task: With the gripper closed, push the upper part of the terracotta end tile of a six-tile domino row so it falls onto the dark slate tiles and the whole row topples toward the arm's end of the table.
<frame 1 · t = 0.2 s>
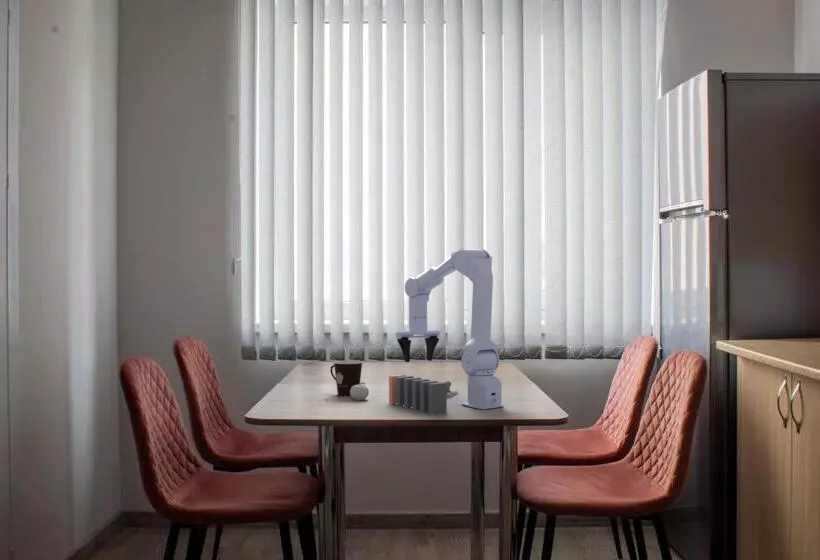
hand: (418, 361, 227), 10 cm above the table, tool pointing down, fingers open, 7 cm apart
domino 2: (405, 405, 207), on the table
domino 1: (397, 403, 210), on the table
domino 5: (429, 411, 198), on the table
packaged product: (426, 396, 227), on the table
domino 4: (420, 409, 201), on the table
domino 6: (437, 413, 195), on the table
garlic: (359, 400, 217), on the table
coffee mug: (346, 394, 227), on the table
domino 3: (412, 407, 204), on the table
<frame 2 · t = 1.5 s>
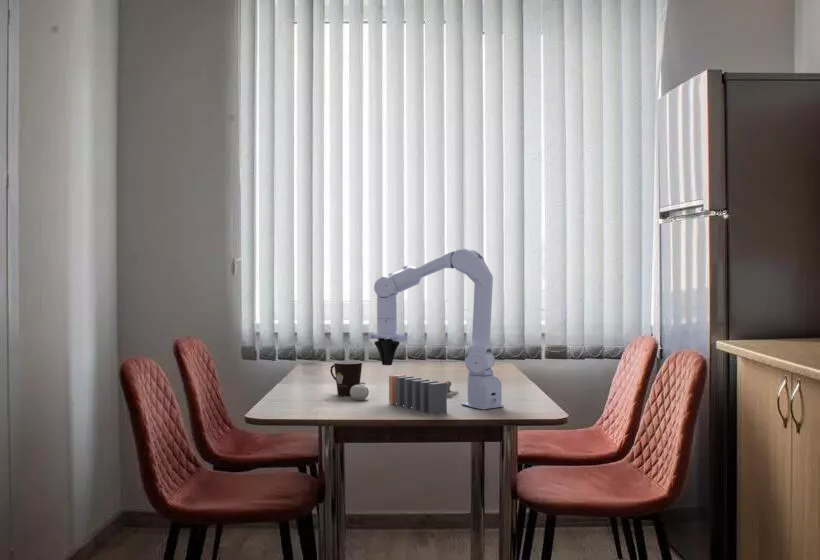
hand: (387, 365, 215), 10 cm above the table, tool pointing down, fingers closed
nothing on the table moved.
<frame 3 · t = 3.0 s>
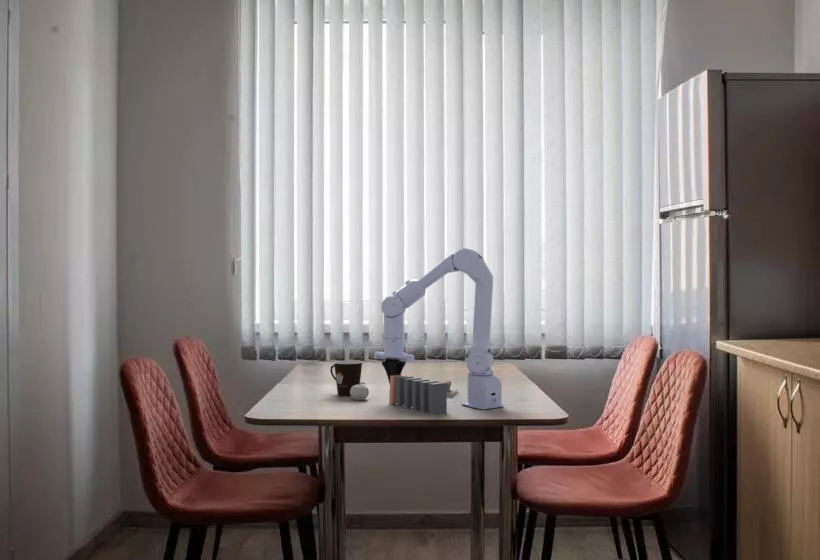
hand: (393, 385, 212), 5 cm above the table, tool pointing down, fingers closed
domino 1: (397, 403, 210), on the table, tilted 5°
everything else where it was.
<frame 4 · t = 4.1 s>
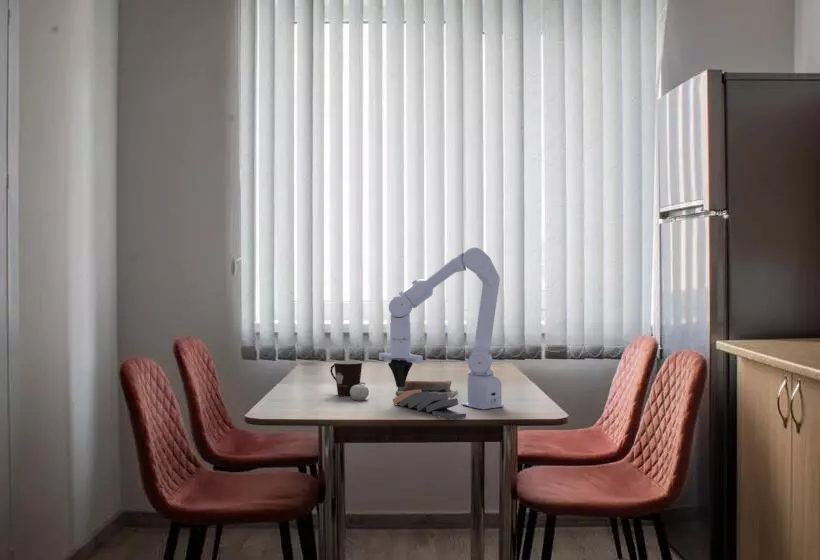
hand: (400, 386, 209), 5 cm above the table, tool pointing down, fingers closed
domino 2: (407, 403, 206), point 1 cm above the table, tilted 65°, touching domino 1
domino 1: (400, 401, 209), point 1 cm above the table, tilted 65°, touching domino 2
domino 5: (433, 408, 196), point 1 cm above the table, tilted 70°, touching domino 6
domino 4: (424, 407, 199), point 1 cm above the table, tilted 61°, touching domino 3
domino 6: (439, 412, 194), on the table, tilted 90°, touching domino 5
domino 3: (415, 405, 203), point 1 cm above the table, tilted 65°, touching domino 4
everything else where it was.
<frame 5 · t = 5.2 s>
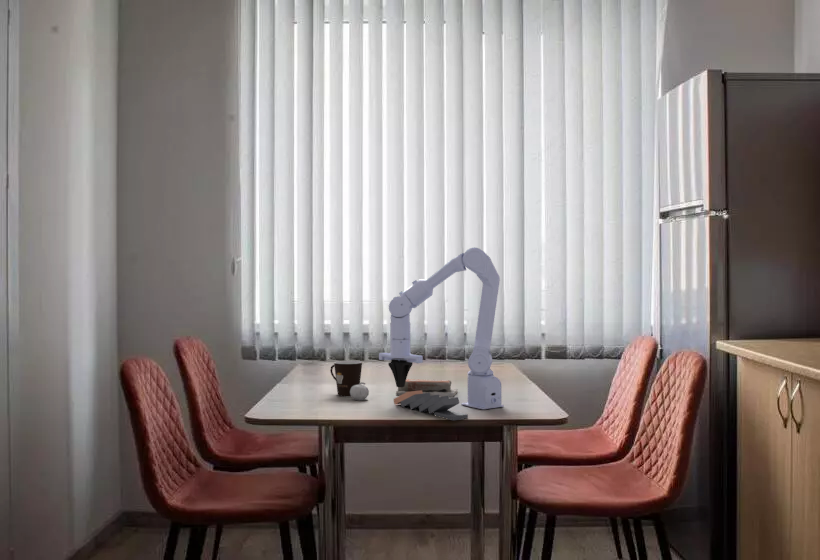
hand: (400, 386, 209), 5 cm above the table, tool pointing down, fingers closed
domino 5: (436, 409, 194), point 1 cm above the table, tilted 66°, touching domino 4
domino 4: (426, 408, 198), point 1 cm above the table, tilted 66°, touching domino 3, domino 5
domino 6: (441, 413, 193), on the table, tilted 90°
domino 3: (417, 405, 202), point 1 cm above the table, tilted 68°, touching domino 4
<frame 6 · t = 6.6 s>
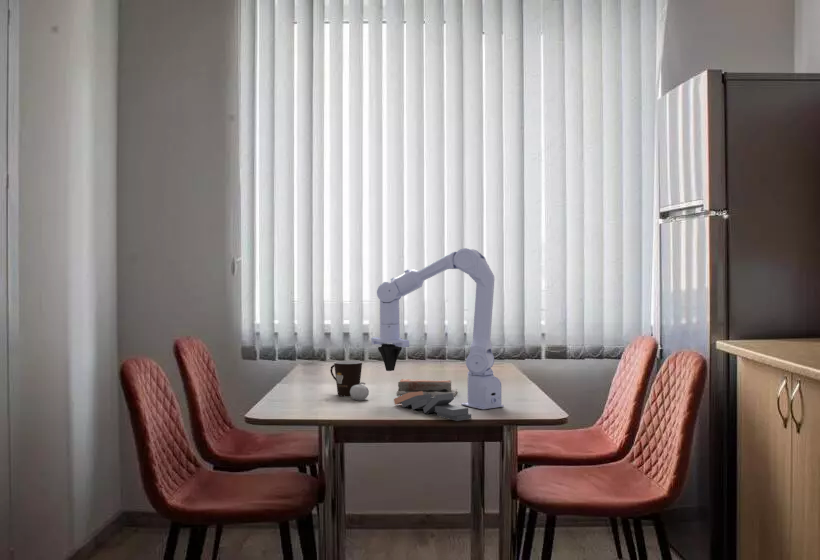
hand: (390, 370, 213), 9 cm above the table, tool pointing down, fingers closed
domino 2: (409, 403, 205), point 1 cm above the table, tilted 70°, touching domino 1, domino 3
domino 5: (442, 407, 192), point 2 cm above the table, tilted 89°, touching domino 4, domino 6
domino 4: (431, 409, 196), point 1 cm above the table, tilted 57°, touching domino 5
domino 6: (444, 413, 192), on the table, tilted 90°, touching domino 5
domino 3: (419, 406, 201), point 1 cm above the table, tilted 70°, touching domino 2
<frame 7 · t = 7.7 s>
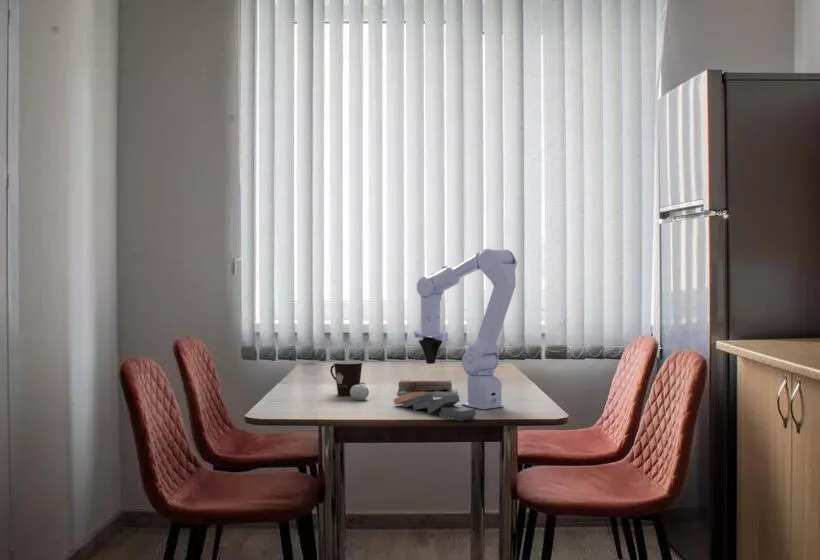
hand: (430, 363, 218), 10 cm above the table, tool pointing down, fingers closed
domino 5: (448, 408, 192), point 2 cm above the table, tilted 90°, touching domino 4, domino 6
domino 4: (435, 410, 195), point 1 cm above the table, tilted 60°, touching domino 3, domino 5
domino 3: (420, 406, 201), point 1 cm above the table, tilted 74°, touching domino 2, domino 4
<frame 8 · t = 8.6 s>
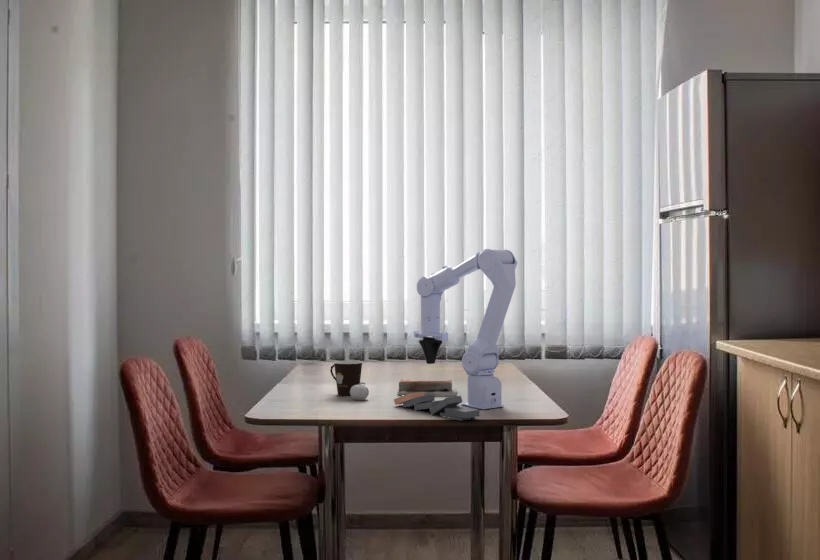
hand: (430, 363, 218), 10 cm above the table, tool pointing down, fingers closed
domino 5: (451, 409, 191), point 2 cm above the table, tilted 90°, touching domino 6
domino 4: (437, 411, 194), point 1 cm above the table, tilted 61°, touching domino 3
at the end: domino 6 tilted 91°; domino 1 tilted 71° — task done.
